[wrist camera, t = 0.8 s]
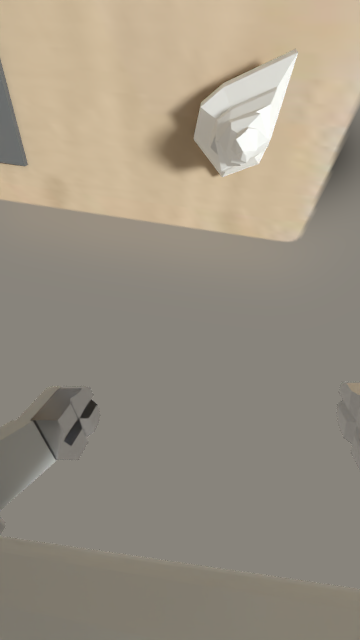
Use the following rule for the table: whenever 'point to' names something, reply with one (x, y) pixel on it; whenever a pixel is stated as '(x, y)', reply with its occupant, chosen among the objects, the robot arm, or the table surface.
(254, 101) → the white angular chunk
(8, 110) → the mat
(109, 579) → the robot arm
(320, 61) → the table surface
